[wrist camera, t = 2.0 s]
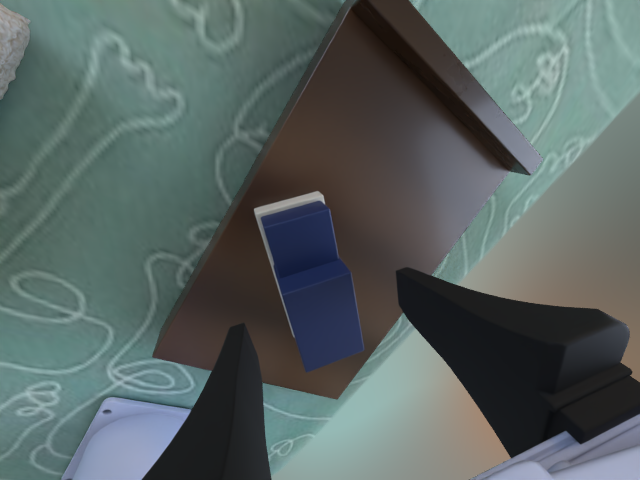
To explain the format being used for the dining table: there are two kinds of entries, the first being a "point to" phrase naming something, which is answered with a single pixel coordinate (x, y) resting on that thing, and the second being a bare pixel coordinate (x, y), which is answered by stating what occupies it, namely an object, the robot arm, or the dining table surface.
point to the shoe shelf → (354, 189)
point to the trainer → (311, 279)
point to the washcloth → (11, 45)
